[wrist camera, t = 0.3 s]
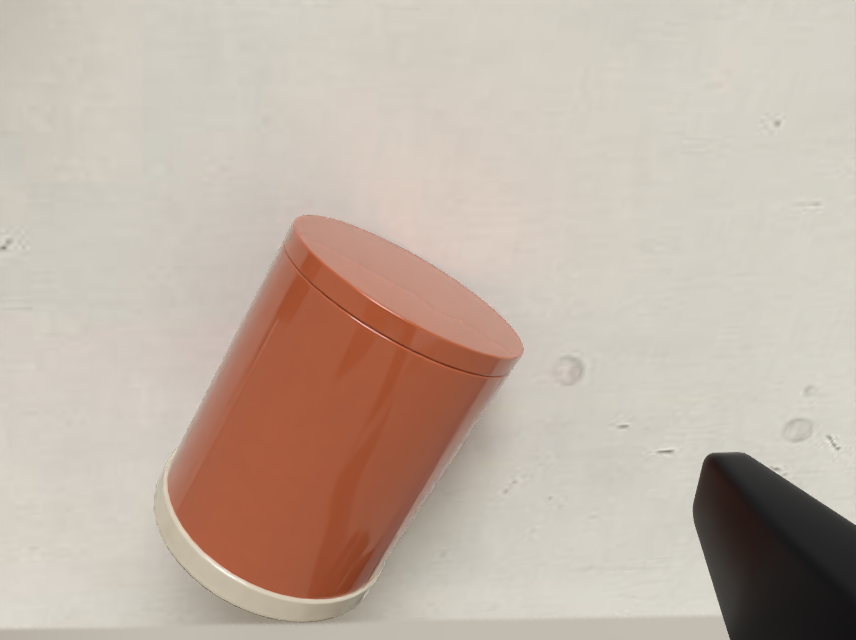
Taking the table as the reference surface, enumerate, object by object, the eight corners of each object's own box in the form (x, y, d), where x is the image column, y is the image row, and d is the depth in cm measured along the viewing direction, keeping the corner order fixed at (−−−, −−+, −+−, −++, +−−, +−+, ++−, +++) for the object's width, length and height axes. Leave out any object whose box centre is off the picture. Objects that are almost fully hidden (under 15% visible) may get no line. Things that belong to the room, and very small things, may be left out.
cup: (385, 509, 24) (358, 669, 17) (208, 418, 23) (100, 546, 16) (513, 310, 21) (546, 398, 14) (320, 200, 20) (254, 235, 13)
